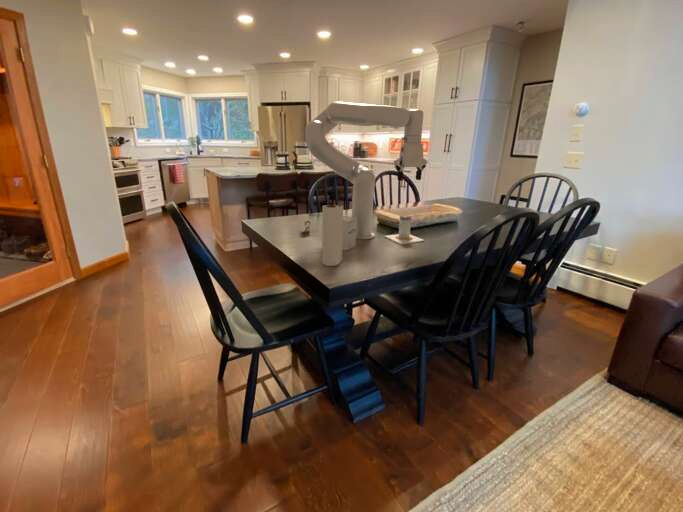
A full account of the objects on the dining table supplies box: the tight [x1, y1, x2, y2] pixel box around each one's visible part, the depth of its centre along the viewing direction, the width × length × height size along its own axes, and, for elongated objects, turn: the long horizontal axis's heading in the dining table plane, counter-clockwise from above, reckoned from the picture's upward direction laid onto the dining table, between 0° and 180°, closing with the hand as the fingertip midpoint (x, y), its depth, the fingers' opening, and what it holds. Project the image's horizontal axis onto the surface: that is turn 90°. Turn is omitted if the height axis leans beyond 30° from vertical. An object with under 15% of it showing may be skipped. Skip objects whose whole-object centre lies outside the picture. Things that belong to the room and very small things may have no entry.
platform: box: [303, 218, 313, 235], centre depth 161 cm, size 12×18×7 cm, turn 8°
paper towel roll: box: [321, 204, 344, 267], centre depth 118 cm, size 7×6×21 cm
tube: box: [398, 214, 412, 239], centre depth 151 cm, size 5×5×10 cm
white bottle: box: [342, 215, 357, 251], centre depth 138 cm, size 7×7×13 cm
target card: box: [384, 233, 425, 246], centre depth 153 cm, size 13×13×1 cm
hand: (409, 180), depth 150 cm, fingers open, 9 cm apart
